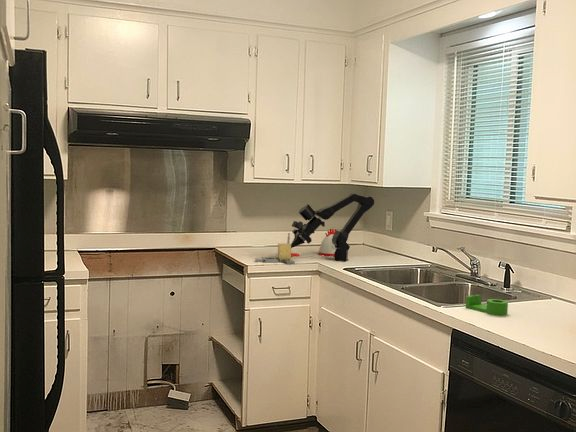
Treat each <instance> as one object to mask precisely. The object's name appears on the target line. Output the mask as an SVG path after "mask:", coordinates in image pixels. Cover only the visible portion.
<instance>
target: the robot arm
mask: <svg viewBox="0 0 576 432" xmlns="http://www.w3.org/2000/svg"><path fill="white" fill-rule="evenodd" d="M354 202H355V203H357V207H356V209H355V210H354V212H353V213H352V215H351V216H350V218H349V219H348V220H347V222H346V223H345V224H344V226H343V227H342V228H341V229H340V230H337V229H336V232H335V234H334V235H333V238H332V243H333V244H334V245H335V248H337V249H336V251H335V253H334V257H333V259H334V261H336V262H337V261H338V262H347V261H349V260H350V259H349V250H350V247H351V246H350V244H349V243H347V242H348V240H349V239H348V238H349V235H350V234H351V232H352V231H353V229H354V228H355V226H356V225H357V224H358V222H359V221H360V219H361V218H362V217H363V216H364V214H365V213H366V212H368V211H369V210H371V208H372V207H374V205H375V199H374V197H372V196H367V195H364V196H362V195H359V194H356V193H353V192H352V193H349V194H348V195H347V196H345V197H343V198H341V199H340V200H338V201H336V202H335V203H332V204H330V205H328V206H324V207H321V208H319V209H318V210H314V209H313V208H312V206H311V205H310V204H306V205H304V206H303V207H301V208H300V209H299V211H298V214H299V215H300V216H301V217H302V218H303V219H304V220H305V221H308V222H306V223H303V222H302V221H296V220H293V222H292V224H291V227H293V228H294V229H293V230H292V234H293V236H294V238H293V239H292V242H291V243H290V244H291V249H292V248H295V247H298V246H300V245H303V244H305V243H307V244H309V245H310V243H312V237H311V235H312V234H315V231H316V230H317V229H318V228H319V227H320V226H321V227H323V228H324V227H325V226H326V224H325V222H326V221H327V220H329V219H330V218H332V216H334V215H335V214H336V213H337V212H338V211H340V210H341V209H343V208H345V207H346V206H349V205H351V204H352V203H354Z"/></svg>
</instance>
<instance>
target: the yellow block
mask: <svg viewBox="0 0 576 432" xmlns="http://www.w3.org/2000/svg"><path fill="white" fill-rule="evenodd" d="M291 251H292V248H291V243H289V244H287V243H277V257H278V262H279V259H290V260H292V259H291V258H292V257H291V253H292V252H291Z"/></svg>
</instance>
